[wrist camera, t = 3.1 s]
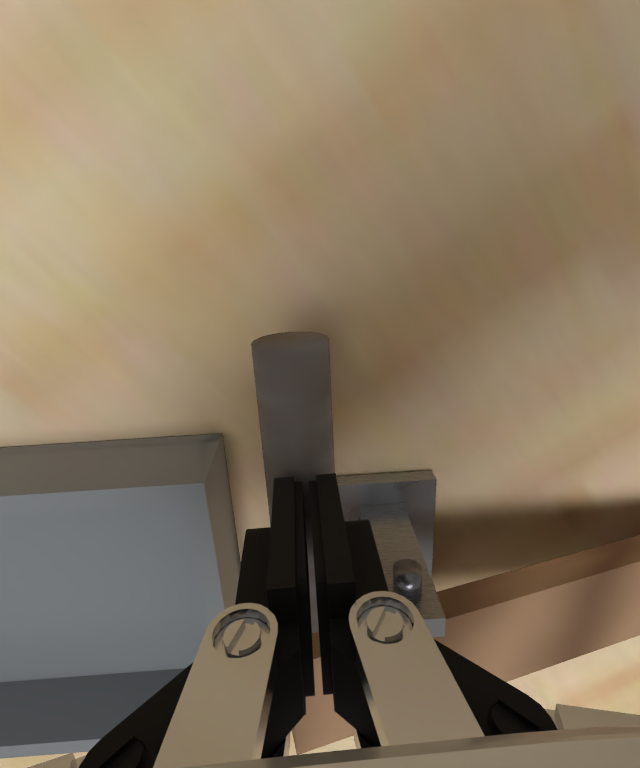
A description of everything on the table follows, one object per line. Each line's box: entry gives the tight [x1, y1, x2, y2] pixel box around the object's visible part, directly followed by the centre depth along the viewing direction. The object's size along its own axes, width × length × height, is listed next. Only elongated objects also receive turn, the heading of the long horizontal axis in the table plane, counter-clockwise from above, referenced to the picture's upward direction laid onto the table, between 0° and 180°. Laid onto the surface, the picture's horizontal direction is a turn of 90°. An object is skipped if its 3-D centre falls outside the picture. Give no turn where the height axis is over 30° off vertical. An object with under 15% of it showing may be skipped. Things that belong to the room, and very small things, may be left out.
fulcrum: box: [336, 470, 446, 637], centre depth 19 cm, size 5×9×7 cm, turn 3°
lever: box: [251, 332, 640, 755], centre depth 16 cm, size 26×16×3 cm, turn 93°
